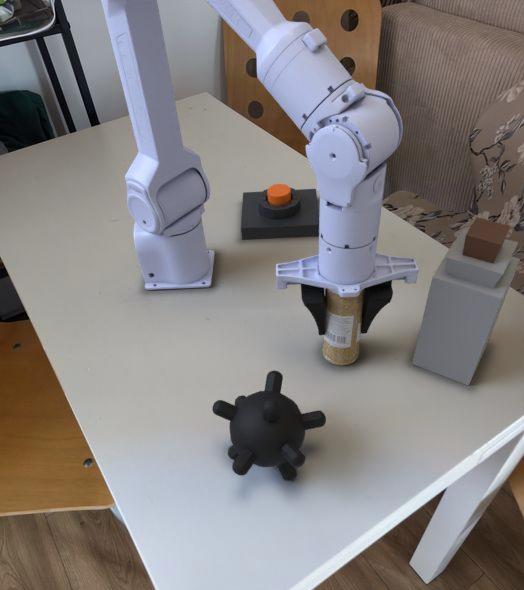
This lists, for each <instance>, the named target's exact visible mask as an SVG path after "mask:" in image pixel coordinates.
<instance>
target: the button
mask: <svg viewBox="0 0 524 590" xmlns="http://www.w3.org/2000/svg"><path fill="white" fill-rule="evenodd" d="M290 188H291V187H290V186H289V185H287V184H285V183H275V184H272V185H270V186H269V187H268V188H267V189H268V190H267V195H268V202H269V204H273V205H284V204H287V203H289V202H290V201H291V189H290Z"/></svg>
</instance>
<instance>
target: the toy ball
mask: <svg viewBox="0 0 524 590" xmlns="http://www.w3.org/2000/svg"><path fill="white" fill-rule="evenodd" d="M283 380H284V376H283V374H282V373H281V372H280V371H279V370H271V371H269V372H267V375H266V379H265V385H264V390H259V391H256V392H254V393H251V394H249V395H247V396H246V395H245V394H243V395H238V396H237V397H236V398H235V399H234V404H232V403H230V402H228V401H225V400H223V399H218V400H216V401H215V402H214V403H213V405H212V409H211V410H212V413H213V414H214V415H216V416H218V417H220V418H223V419H225V420H227V421H229V434H230V435H229V438H230V441H231V445H230V446H229V447H228V449H227V455H228V457H229V459H230V460H232V461H233V462H232V465H231V466H232V467H231V469H232V472H234V474H236V475H237V476H246V475H247V474H248V472H249V471H250V469H252V467H253V466H254V465H255V466H257V467H259V468H274V467H277V469H278V472H279V474H280V476H281V477H282V479H283V481H285V482H292V481H294V480H295V479H296V478H297V476H298V473H297V468H299V467H302V466H303V465H304V464H305V462H306V455H305V453H304V452H303V451H302V450H301V448H302V446H303V443H304V440H305V437H306V436H305V435H306V431H308V430H313V429H317V428H322V427H324V426H325V425H326V422H327V417H326V414H325V412H323V411H322V410H313V411H309V412H308V411H307V412H305V413H302V412H301V409H300V408H299V406H298V404H297V403H296V402H295V401H294V400H293V399H292V398H290V397H288V396H287V395H285V394H283V393H281V392H282V385H283Z"/></svg>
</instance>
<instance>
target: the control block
mask: <svg viewBox="0 0 524 590" xmlns="http://www.w3.org/2000/svg"><path fill="white" fill-rule="evenodd" d="M290 189H291V201H290V202H289V203H287V204H284V205H273V204H269V202H268V195H267V190H268V188H266V189H264V190H261V191H247V192H246V191H245V192H242V202H241V203H242V204H241V219H240V220H241V221H240V222H241V223H240V233H241V240H242V241H247V240H265V239H266V240H267V239H269V240H270V239H288V238H289V239H290V238H309V237H310V238H311V237H319V213H320V211H319V205H318V194H317V188H302V189H295V188H293V187H290Z"/></svg>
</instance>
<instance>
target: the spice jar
mask: <svg viewBox="0 0 524 590" xmlns="http://www.w3.org/2000/svg"><path fill="white" fill-rule="evenodd" d="M324 289H325V292H324V293H325V303H326V304H325V313H324V323H325V335H322V336H323V344H322V349H321V351H322V356H323V357H324V359H325V361H327V362H328V363H330V364H333V365H334V366H335V365H336V366H348V365H351V364H353V363H354V362H355V361H356V360H357V359H358V357H359V355H360V340H361V335H362V334H361V325H362V310H363V301H364V290H365V288H363V289H360V294H359V296H356V297H341V296H339V293H338V291H337V290H332V289H327V288H324Z"/></svg>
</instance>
